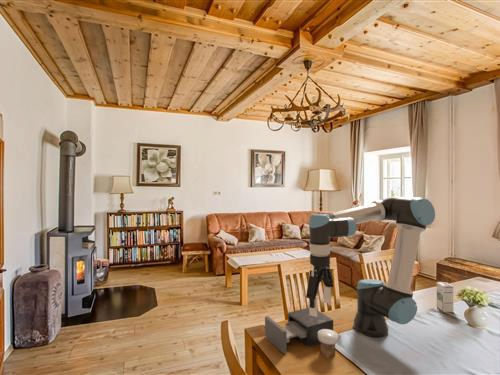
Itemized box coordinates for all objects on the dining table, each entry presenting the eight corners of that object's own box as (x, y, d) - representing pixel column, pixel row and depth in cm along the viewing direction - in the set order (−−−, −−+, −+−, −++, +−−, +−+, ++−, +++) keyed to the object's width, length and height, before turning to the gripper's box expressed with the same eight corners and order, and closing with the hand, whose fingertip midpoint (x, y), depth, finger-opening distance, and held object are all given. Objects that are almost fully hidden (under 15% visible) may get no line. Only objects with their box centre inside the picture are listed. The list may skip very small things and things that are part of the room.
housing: (311, 324, 138) (311, 306, 138) (333, 338, 124) (333, 319, 124) (288, 330, 131) (288, 312, 131) (308, 346, 118) (308, 326, 118)
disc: (328, 332, 119) (328, 327, 119) (342, 341, 111) (342, 336, 111) (313, 336, 115) (313, 331, 115) (327, 346, 108) (327, 341, 108)
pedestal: (328, 349, 116) (328, 335, 116) (335, 355, 112) (335, 340, 112) (320, 352, 114) (320, 337, 114) (327, 357, 110) (327, 342, 110)
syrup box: (454, 312, 151) (454, 285, 151) (443, 312, 151) (443, 285, 151) (446, 307, 156) (446, 281, 156) (436, 307, 156) (436, 281, 156)
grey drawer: (292, 328, 133) (292, 310, 133) (312, 344, 119) (312, 323, 119) (264, 336, 126) (264, 316, 126) (283, 353, 112) (283, 332, 112)
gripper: (323, 247, 120) (324, 296, 120) (295, 260, 100) (296, 318, 100) (340, 249, 115) (341, 300, 115) (315, 263, 95) (316, 324, 96)
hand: (320, 309), depth 108 cm, fingers open, 13 cm apart
